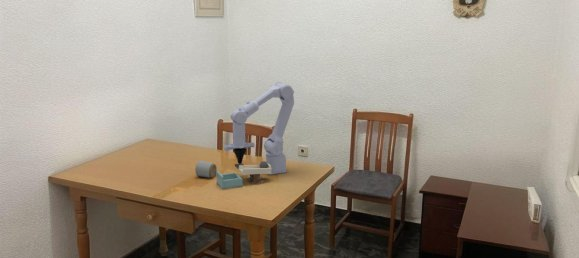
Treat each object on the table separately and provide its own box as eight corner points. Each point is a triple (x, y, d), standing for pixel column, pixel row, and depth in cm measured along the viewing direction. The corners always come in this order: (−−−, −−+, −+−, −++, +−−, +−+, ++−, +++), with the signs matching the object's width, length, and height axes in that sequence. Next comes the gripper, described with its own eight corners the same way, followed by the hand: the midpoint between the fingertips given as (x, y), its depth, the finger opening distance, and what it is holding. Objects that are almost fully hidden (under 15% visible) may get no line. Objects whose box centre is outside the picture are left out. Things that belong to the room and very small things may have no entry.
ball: (265, 168, 236) (266, 160, 235) (268, 171, 232) (269, 162, 232) (257, 168, 234) (258, 160, 234) (260, 170, 231) (261, 162, 230)
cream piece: (260, 165, 244) (261, 158, 243) (271, 173, 232) (271, 166, 231) (233, 165, 238) (234, 158, 238) (242, 174, 226) (243, 167, 226)
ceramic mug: (210, 180, 234) (210, 164, 233) (195, 178, 237) (194, 162, 235) (220, 173, 244) (220, 158, 242) (205, 171, 247) (205, 156, 245)
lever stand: (258, 177, 238) (257, 169, 237) (264, 182, 231) (263, 174, 230) (246, 179, 235) (246, 171, 234) (251, 184, 228) (251, 176, 227)
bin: (236, 180, 234) (236, 168, 232) (242, 186, 226) (242, 173, 225) (216, 183, 230) (216, 171, 229) (222, 189, 222) (221, 176, 221)
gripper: (226, 139, 227) (227, 167, 231) (256, 135, 233) (256, 163, 236) (222, 135, 234) (223, 163, 237) (251, 132, 239) (251, 159, 243)
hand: (239, 163), depth 237 cm, fingers closed
